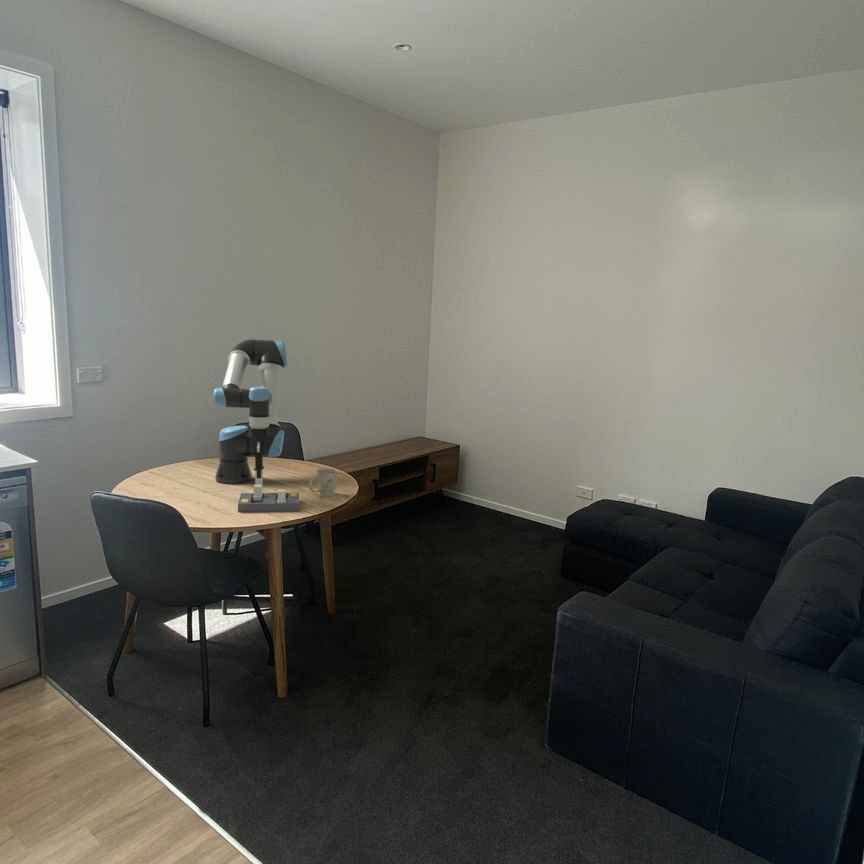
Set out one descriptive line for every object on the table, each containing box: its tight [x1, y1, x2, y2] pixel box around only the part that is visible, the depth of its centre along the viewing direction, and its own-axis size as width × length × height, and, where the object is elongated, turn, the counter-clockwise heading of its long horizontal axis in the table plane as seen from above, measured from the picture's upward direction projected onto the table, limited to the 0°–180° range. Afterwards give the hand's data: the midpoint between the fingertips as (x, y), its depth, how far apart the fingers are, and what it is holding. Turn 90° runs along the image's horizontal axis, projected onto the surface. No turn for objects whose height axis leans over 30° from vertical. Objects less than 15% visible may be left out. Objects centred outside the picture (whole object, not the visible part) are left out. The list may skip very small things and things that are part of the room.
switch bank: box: [237, 492, 300, 513], centre depth 234 cm, size 14×22×3 cm, turn 102°
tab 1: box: [253, 484, 263, 501], centre depth 236 cm, size 4×3×6 cm
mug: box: [308, 468, 338, 498], centre depth 250 cm, size 8×13×10 cm, turn 133°
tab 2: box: [277, 489, 287, 503], centre depth 231 cm, size 4×3×6 cm
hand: (258, 485), depth 243 cm, fingers closed
